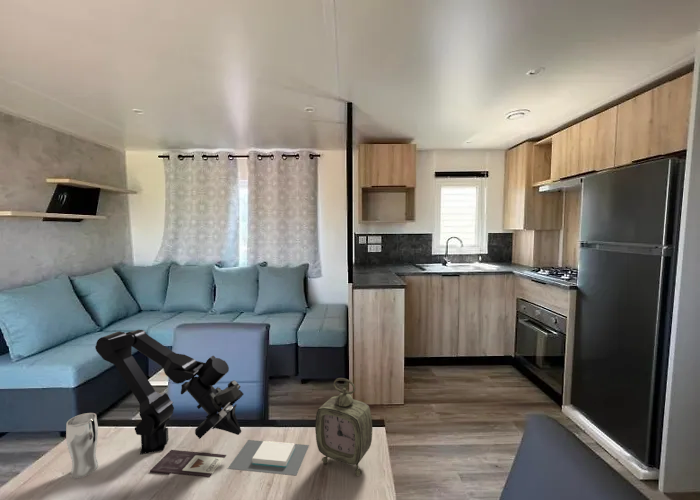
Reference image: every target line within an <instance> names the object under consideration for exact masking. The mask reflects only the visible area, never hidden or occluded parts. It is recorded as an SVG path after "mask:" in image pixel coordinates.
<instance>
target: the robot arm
mask: <svg viewBox="0 0 700 500" xmlns="http://www.w3.org/2000/svg"><path fill="white" fill-rule="evenodd" d="M132 347H133V348H134V349H136V351H138V352H140V353H141V354H143V355H144V356H146V358H148V359H150V360H151V361H152V362H154V363H156V364H157V365H158V366H160V367H161V368H162V369H163V371H164V374H165V376H166V377H168V379H170V381H172V382H173V383H174V384H177V385H179V384H181V389H180V395H184V394H186V392H187V393H188V394H190V395H191V397H192V398H193V399H194V401H196V402H197V404H198V405H197V406H196V408H197V409H198V410H200V409H201V408H202V410H203V411H204V412H206V414H207V416H205V418H206V419H204V421H202V422H201V423H200V424H199V425H198V426H197V427H196V428H195V429H194V434H195V435H196V437H197V438H198V439H199V440H201V439H202V437H203V436H205V434H207V433H208V432H209V431H210V430H211V429H212V430H214V429H217V430H222V431H225V432H228V433H232V434H234V435H236V436H238V435H240V434H241V433H242V430H241V427H240V424H239V420H238V419H237V416H236V409H237V408H236V407H237V404H236V402H237V401H239V400H240V399H241V398H242V397H243V396H244V393H243V391H242V390H240V389H241V385H240V384H239V383H238V382H237V381H236V380H232V381H230V382H229V383H228V384H227V387H225V388H224V389H222V388H220V387H219V386H217V387H216V388H215V387H214V386H215V385H216V384H217V383H218V382H219V381H220V380H221V379H222V378H223V377H224V376H226V375H227V374H228V373H229V371H230V367H229V365H228V363H227V361H226V360H224V359H222V358H219V357H216V356H215V355H212V356H210V357H208V359H207V360H206V362H202V361H199V360H196V359H194V358H193V357H191V356H188V355H186V354H184V353H183V354H182V353H176V352H174V350H173V351H172V350H171V349H170V348H168V347H166V346H165V345H163V343H160V342H159V341H158V340H156V339H154V338H153V337H152V336H150V335H149V334H147V332H146V331H145V330H144V329H137V330H131V331H128V332H125V331H115V332H113V333H109V334H108V335H105V336H101V337H100V338H98V339H97V341H96V342H95V350H96V352H97V354H98V355H99V356H100V357H101V358H102V359H103V360H104V361H106V362H107V363H108V362H109V363H110V364H113V365H114V366H115V368H116V369H117V371H118V372H119V374H120V375H121V377H122V379H123V381H124V382H125V383H126V384H127V386H128V388H129V390H130V391H131V392H132V393H133V396H134V397H135V398H136V400H137V402H138V403H139V416H140V418H141V421H140V422H139V423H138V424H137V425H136V426H135V427H134V431H135V433H136V435H137V436H140V440H141V441H140V443H141V449H140V451H139V455H146V454H150V453H157V452H161V451H164V450H165V447H166V446H167V444H168V442H169V428H168V427H167V422H169V421H170V419H171V417H172V416H173V414H174V410H175V407H174V405H173V404H174V401H173V400H171V398H170V397H169V395H168V394H167V392H164V393H163V394H161V393H159V392H157V391H156V390H155V388H154V387H153V385H152V384H151V382H150V380H149V379H148V377H147V376H146V375H145V373H144V371H143V370H142V368H141V367H140V365H139V364H138V362H137V361H136V359H135V357H134V356H133V354H132V351H133V350H132V349H133V348H132ZM233 405H234V406H233Z"/></svg>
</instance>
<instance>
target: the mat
mask: <svg viewBox="0 0 700 500" xmlns="http://www.w3.org/2000/svg"><path fill="white" fill-rule="evenodd" d="M263 441H264V440H255V439H247V440H246V443H245V444H244V445H243V446H242V448H241V450H240V451H239V452H238V453H237V454H236V456H235V458H234V459H233V460H232V462H231V463H230V465H229V466H228V467H227V469H228V470H234V471H235V470H237V471H244V472H245V471H247V472H258V473H266V474H276V475H285V476H287V475H288V476H297V475H298V473H299V470H300V468H301V466H302V463H303V461H304V458H305V457H306V454H307V451H308V449H309V447H310V445H309V444H301V443H295V450H294V452H293V454H292V456H291V458H290V461H289V463H288V465H287V467H286V468H285V467H275V466H264V465H254V464H252V458H253V456H254V455H255V453H256V452H257V450H258V449H259V447H260V446H261V444H262V442H263Z"/></svg>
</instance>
